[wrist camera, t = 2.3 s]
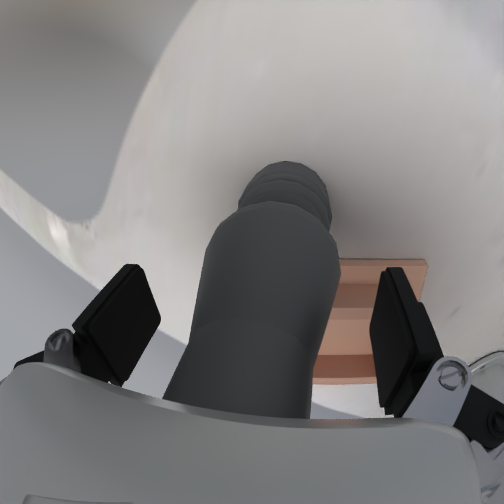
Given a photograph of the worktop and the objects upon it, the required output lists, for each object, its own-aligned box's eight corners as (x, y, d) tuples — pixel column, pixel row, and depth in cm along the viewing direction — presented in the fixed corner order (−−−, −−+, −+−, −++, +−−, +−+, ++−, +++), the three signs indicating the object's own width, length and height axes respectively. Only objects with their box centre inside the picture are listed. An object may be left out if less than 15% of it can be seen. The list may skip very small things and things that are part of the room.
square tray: (424, 259, 20) (440, 286, 17) (391, 362, 27) (396, 390, 23) (266, 258, 23) (258, 286, 20) (274, 362, 30) (268, 390, 26)
